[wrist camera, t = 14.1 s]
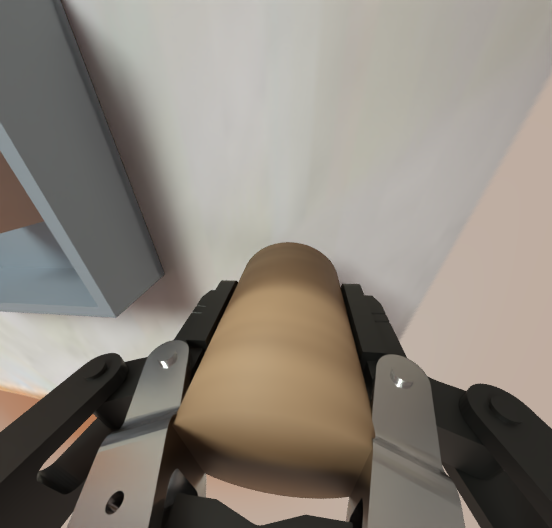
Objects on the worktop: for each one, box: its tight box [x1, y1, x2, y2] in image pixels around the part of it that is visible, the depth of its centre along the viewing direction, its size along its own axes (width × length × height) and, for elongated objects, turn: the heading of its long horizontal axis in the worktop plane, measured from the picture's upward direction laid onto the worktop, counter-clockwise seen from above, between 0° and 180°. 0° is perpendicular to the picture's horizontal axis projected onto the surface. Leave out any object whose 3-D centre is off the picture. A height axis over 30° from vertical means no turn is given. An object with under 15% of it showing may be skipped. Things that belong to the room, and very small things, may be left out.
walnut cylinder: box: [172, 242, 376, 499], centre depth 8 cm, size 5×5×7 cm
